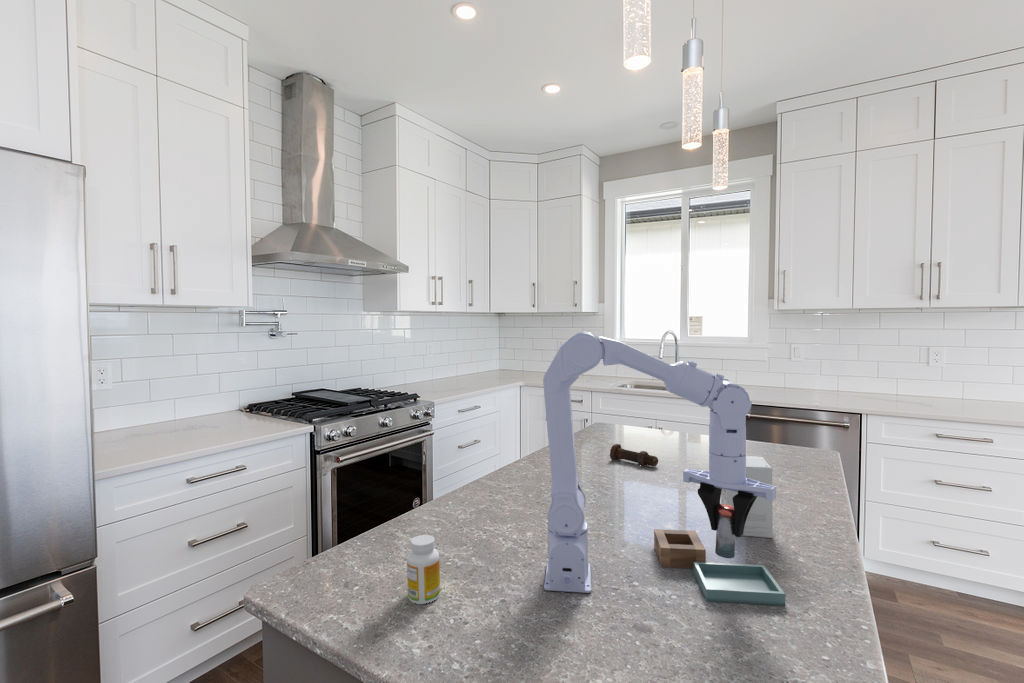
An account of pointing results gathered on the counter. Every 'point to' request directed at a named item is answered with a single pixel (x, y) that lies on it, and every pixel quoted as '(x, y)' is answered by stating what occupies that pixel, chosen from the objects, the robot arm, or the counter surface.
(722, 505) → the red capped cylinder
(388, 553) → the counter surface
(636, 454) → the bolt
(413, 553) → the supplement bottle
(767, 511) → the supplement box
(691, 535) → the bore block
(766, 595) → the tray
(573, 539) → the robot arm
